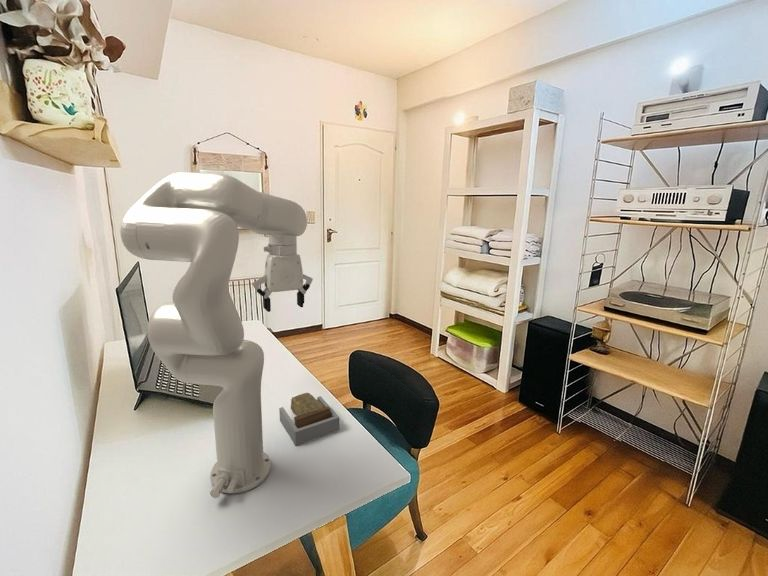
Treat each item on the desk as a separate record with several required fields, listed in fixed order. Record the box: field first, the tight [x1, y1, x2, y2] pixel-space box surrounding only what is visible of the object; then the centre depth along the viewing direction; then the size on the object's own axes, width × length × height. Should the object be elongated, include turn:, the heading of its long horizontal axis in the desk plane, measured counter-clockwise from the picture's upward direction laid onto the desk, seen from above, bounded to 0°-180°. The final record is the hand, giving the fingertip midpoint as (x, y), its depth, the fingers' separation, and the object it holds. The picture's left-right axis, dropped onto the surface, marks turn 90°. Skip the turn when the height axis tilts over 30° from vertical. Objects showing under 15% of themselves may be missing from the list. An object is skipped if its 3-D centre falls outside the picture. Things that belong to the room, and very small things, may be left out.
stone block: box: [290, 392, 325, 417], centre depth 101 cm, size 6×12×5 cm, turn 42°
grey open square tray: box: [278, 395, 341, 447], centre depth 97 cm, size 12×12×4 cm
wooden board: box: [293, 407, 330, 428], centre depth 95 cm, size 1×10×5 cm, turn 125°
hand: (284, 308), depth 105 cm, fingers open, 9 cm apart
